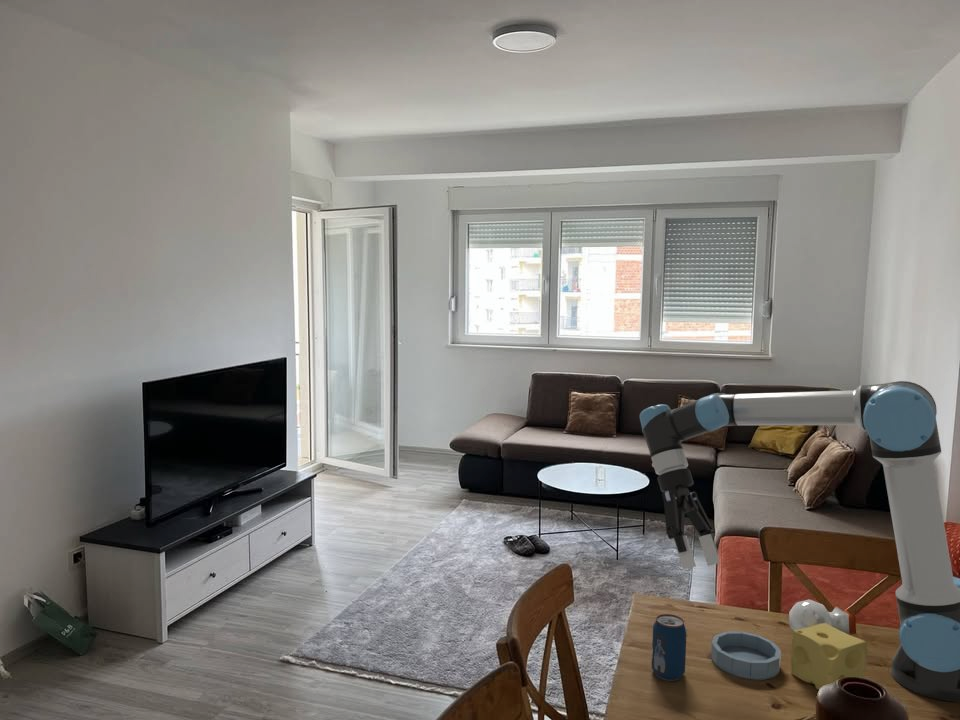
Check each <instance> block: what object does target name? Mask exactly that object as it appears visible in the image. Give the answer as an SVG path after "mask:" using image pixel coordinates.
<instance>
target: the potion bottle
mask: <svg viewBox="0 0 960 720" xmlns="http://www.w3.org/2000/svg"><path fill="white" fill-rule="evenodd" d="M788 613H789V614H788V615H789V617H788V618H789V628H791V630H792V632H793V631H794V630H799V629H804V628H808V627H812V626H815V625H818V624H823V623H826V624H828V625H830V626H832V627H834V628H836V629H838V630H840V631H842V632H844V633H846V634H849V635H851V636H853V635H857V622H856V621H857V619H856V615H854V614H852V613H851V612H849V611H848V610H847V609H844V608H843V609H841V608H840V607H838V606H835V607H834V608H833V610H832V611H829V610H828V609H827V608H826V606H825V605H824V604H822V603H819V602H817V601H815V600H812V599H811V598H810V599H805V600H801V601H798V602H797V601H796V602H795V604H794V605H793V606H792V608H791V609H790V610H789V612H788Z"/></svg>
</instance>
